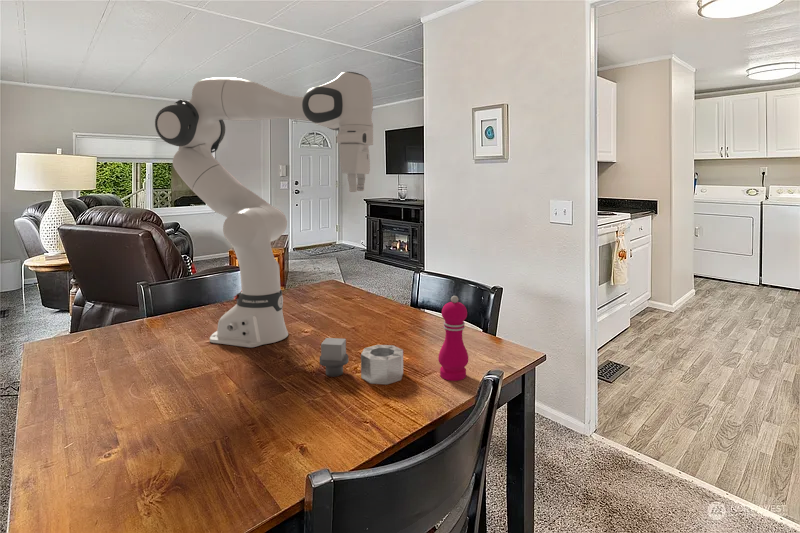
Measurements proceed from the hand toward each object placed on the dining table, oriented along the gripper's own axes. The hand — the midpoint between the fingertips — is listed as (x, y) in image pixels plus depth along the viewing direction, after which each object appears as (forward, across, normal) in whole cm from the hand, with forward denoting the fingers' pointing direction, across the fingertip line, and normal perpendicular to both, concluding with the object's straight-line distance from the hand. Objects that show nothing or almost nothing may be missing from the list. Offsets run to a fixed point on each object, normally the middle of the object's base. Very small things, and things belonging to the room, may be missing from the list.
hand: (357, 191), depth 124 cm
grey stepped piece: (+44, +19, -2) cm, 48 cm away
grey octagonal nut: (+44, +19, +10) cm, 49 cm away
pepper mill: (+44, +18, +27) cm, 54 cm away
